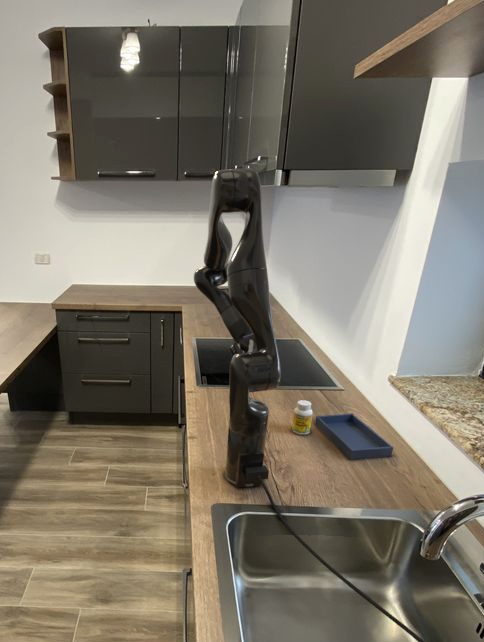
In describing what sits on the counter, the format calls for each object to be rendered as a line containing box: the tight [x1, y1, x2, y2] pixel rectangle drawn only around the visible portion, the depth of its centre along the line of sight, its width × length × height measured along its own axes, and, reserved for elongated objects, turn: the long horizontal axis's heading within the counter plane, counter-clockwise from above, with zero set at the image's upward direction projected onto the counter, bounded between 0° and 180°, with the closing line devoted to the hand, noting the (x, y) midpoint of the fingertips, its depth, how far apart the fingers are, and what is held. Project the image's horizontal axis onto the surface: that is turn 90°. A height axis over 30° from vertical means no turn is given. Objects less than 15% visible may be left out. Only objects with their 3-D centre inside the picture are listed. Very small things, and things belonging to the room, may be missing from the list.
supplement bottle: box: [291, 399, 314, 436], centre depth 134 cm, size 5×5×10 cm
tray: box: [314, 413, 394, 461], centre depth 131 cm, size 21×12×3 cm, turn 9°
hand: (267, 370), depth 125 cm, fingers open, 8 cm apart
